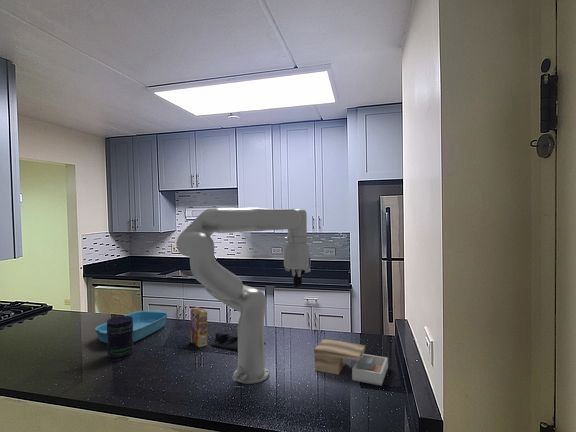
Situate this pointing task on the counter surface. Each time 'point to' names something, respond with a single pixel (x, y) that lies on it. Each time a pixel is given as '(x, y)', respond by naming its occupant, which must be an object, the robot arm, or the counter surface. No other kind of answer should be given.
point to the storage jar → (120, 337)
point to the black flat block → (226, 341)
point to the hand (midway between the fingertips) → (297, 286)
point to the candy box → (199, 327)
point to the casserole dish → (138, 324)
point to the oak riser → (336, 355)
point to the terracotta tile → (375, 368)
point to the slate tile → (366, 363)
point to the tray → (371, 376)
